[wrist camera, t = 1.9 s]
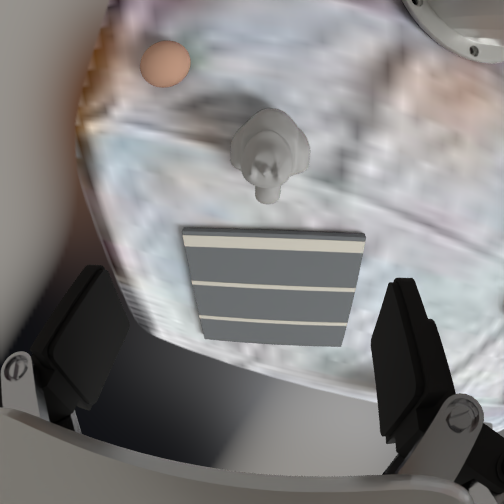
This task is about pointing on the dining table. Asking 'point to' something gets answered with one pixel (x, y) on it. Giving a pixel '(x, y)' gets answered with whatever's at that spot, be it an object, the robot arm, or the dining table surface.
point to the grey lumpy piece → (269, 152)
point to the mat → (274, 284)
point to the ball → (165, 64)
